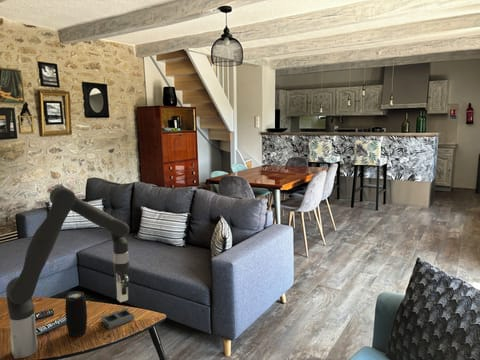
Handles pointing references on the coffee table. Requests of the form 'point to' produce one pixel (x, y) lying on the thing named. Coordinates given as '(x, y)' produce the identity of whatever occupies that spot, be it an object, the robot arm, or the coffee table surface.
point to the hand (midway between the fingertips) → (122, 292)
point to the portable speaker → (76, 313)
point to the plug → (119, 292)
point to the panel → (117, 318)
